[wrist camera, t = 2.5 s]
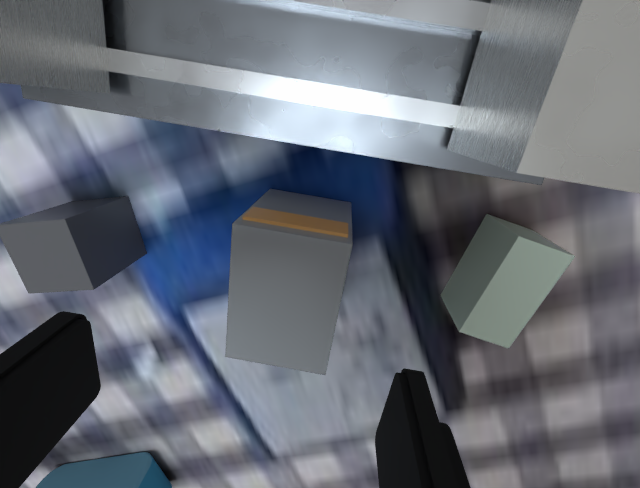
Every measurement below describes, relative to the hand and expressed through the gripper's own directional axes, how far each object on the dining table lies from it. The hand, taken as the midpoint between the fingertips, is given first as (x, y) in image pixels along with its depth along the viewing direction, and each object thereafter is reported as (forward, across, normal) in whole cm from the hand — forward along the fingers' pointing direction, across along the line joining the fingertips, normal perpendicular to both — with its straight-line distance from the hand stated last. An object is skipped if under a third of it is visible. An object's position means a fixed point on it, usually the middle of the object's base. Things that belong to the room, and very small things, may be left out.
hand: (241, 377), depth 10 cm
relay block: (+12, +12, +2) cm, 17 cm away
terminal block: (+12, -12, 0) cm, 17 cm away
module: (+12, -1, +1) cm, 12 cm away
